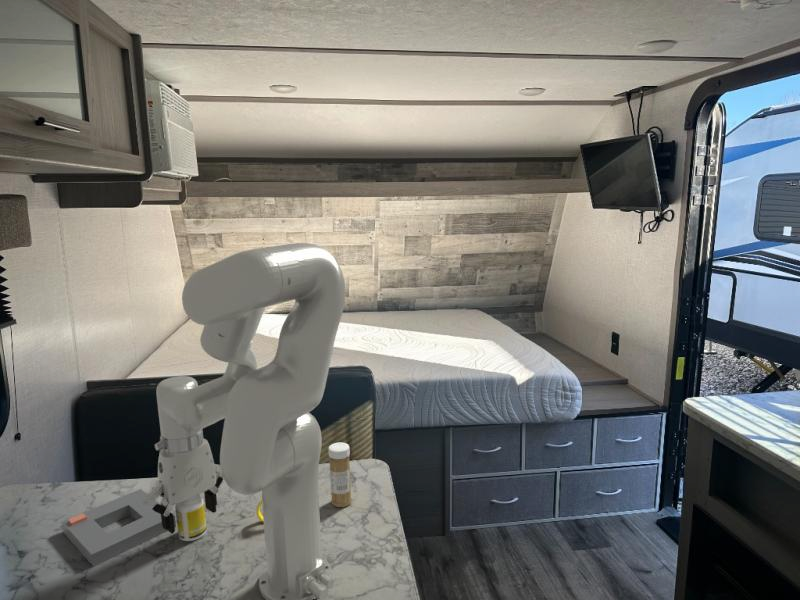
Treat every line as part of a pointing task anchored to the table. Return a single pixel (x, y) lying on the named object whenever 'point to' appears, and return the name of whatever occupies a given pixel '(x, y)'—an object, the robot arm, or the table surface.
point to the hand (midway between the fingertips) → (190, 519)
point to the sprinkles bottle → (340, 474)
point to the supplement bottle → (191, 518)
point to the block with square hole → (107, 545)
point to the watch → (259, 512)
